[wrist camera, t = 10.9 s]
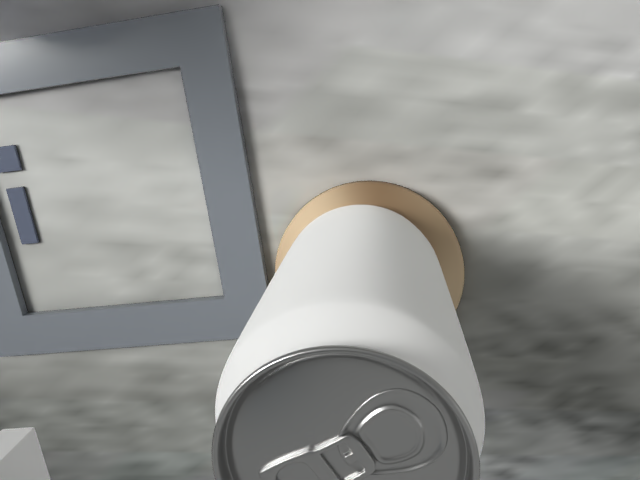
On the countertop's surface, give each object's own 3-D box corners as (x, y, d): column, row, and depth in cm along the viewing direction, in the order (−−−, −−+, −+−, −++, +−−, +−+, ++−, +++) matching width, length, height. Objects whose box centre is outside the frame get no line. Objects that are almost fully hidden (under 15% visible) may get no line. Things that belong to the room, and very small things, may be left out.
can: (468, 297, 22) (563, 519, 11) (342, 370, 24) (306, 631, 12) (383, 170, 21) (387, 265, 10) (256, 255, 23) (130, 423, 11)
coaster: (292, 360, 25) (289, 367, 24) (264, 191, 23) (261, 194, 22) (468, 348, 24) (470, 355, 23) (455, 169, 22) (457, 172, 21)
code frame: (2, 353, 26) (-4, 357, 26) (-90, 58, 23) (-98, 58, 22) (276, 332, 24) (274, 336, 24) (221, 6, 21) (218, 4, 20)
